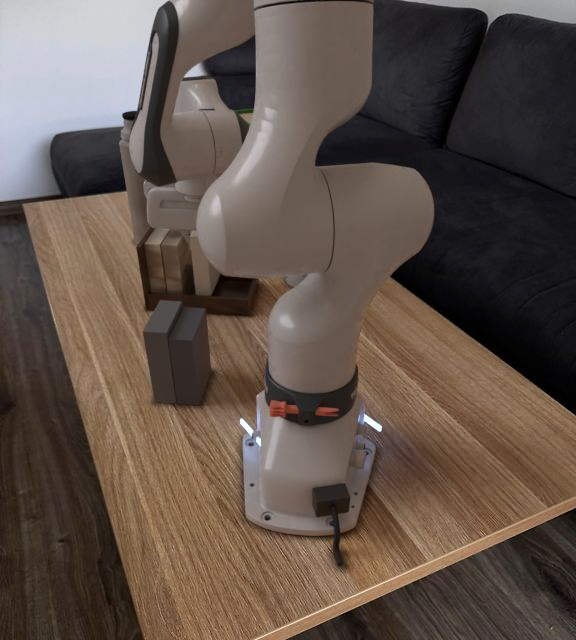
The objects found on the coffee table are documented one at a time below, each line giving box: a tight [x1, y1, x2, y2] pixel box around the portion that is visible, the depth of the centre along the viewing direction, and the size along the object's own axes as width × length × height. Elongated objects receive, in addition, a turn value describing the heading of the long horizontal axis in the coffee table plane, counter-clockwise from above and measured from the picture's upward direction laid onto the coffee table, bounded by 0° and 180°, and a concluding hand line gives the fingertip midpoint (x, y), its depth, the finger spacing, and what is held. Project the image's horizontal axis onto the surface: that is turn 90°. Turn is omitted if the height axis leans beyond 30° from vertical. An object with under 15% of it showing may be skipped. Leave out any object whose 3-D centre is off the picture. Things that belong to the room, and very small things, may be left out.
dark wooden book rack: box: [135, 227, 260, 317], centre depth 114 cm, size 20×13×13 cm, turn 84°
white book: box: [190, 230, 220, 296], centre depth 113 cm, size 3×9×12 cm, turn 174°
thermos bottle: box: [118, 110, 151, 246], centre depth 130 cm, size 8×8×28 cm
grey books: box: [142, 300, 212, 406], centre depth 91 cm, size 7×9×13 cm
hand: (205, 251), depth 112 cm, fingers closed on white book, 3 cm apart
